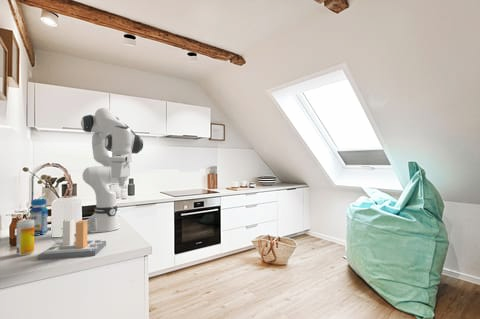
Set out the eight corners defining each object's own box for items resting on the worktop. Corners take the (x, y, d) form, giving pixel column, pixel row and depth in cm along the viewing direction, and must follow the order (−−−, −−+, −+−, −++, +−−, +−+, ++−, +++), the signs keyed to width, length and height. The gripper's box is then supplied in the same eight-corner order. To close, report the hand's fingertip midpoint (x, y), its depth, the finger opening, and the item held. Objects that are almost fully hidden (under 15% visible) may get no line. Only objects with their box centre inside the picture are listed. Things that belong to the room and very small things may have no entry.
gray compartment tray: (106, 244, 126) (106, 216, 126) (95, 255, 111) (95, 223, 111) (56, 248, 121) (56, 218, 122) (38, 259, 107) (38, 226, 107)
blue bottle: (50, 233, 147) (50, 199, 148) (32, 237, 140) (32, 201, 141) (44, 231, 152) (44, 198, 153) (26, 234, 145) (27, 199, 146)
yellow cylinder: (37, 252, 116) (37, 219, 116) (23, 256, 110) (23, 222, 110) (27, 251, 117) (27, 218, 118) (12, 255, 112) (13, 221, 112)
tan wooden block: (87, 246, 116) (87, 220, 117) (83, 249, 112) (83, 222, 112) (80, 246, 116) (80, 220, 116) (75, 250, 111) (75, 222, 112)
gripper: (120, 158, 135) (120, 184, 135) (108, 157, 115) (108, 188, 115) (133, 158, 136) (132, 184, 136) (123, 157, 116) (123, 187, 116)
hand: (121, 186), depth 125 cm, fingers closed
